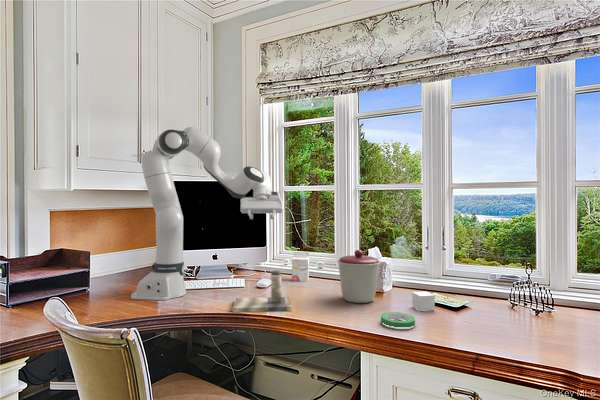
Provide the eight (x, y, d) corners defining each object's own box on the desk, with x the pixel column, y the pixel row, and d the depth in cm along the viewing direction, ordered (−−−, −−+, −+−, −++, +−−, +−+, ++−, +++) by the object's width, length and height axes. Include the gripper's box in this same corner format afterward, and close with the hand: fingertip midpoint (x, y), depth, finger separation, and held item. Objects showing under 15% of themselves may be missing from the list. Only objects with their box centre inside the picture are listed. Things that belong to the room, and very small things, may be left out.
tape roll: (421, 328, 119) (421, 320, 119) (392, 332, 116) (392, 323, 116) (402, 318, 130) (402, 310, 130) (375, 320, 126) (375, 313, 126)
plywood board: (232, 312, 135) (232, 308, 135) (235, 301, 149) (235, 297, 149) (291, 310, 137) (291, 306, 137) (289, 300, 151) (289, 297, 151)
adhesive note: (420, 312, 136) (420, 296, 136) (412, 307, 142) (412, 292, 142) (434, 311, 138) (434, 295, 138) (426, 306, 144) (426, 291, 144)
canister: (362, 292, 164) (362, 246, 164) (389, 302, 148) (390, 251, 148) (328, 297, 156) (328, 248, 156) (353, 308, 140) (354, 254, 140)
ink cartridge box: (291, 281, 187) (291, 252, 187) (292, 279, 192) (293, 251, 192) (308, 281, 186) (308, 253, 186) (309, 279, 191) (309, 251, 191)
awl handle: (271, 303, 141) (271, 272, 141) (271, 300, 145) (271, 270, 145) (281, 303, 141) (281, 272, 141) (281, 300, 145) (281, 270, 145)
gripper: (240, 192, 174) (238, 213, 164) (282, 192, 175) (283, 213, 166) (240, 201, 178) (239, 222, 168) (282, 202, 180) (283, 222, 170)
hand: (261, 218), depth 167 cm, fingers open, 8 cm apart
